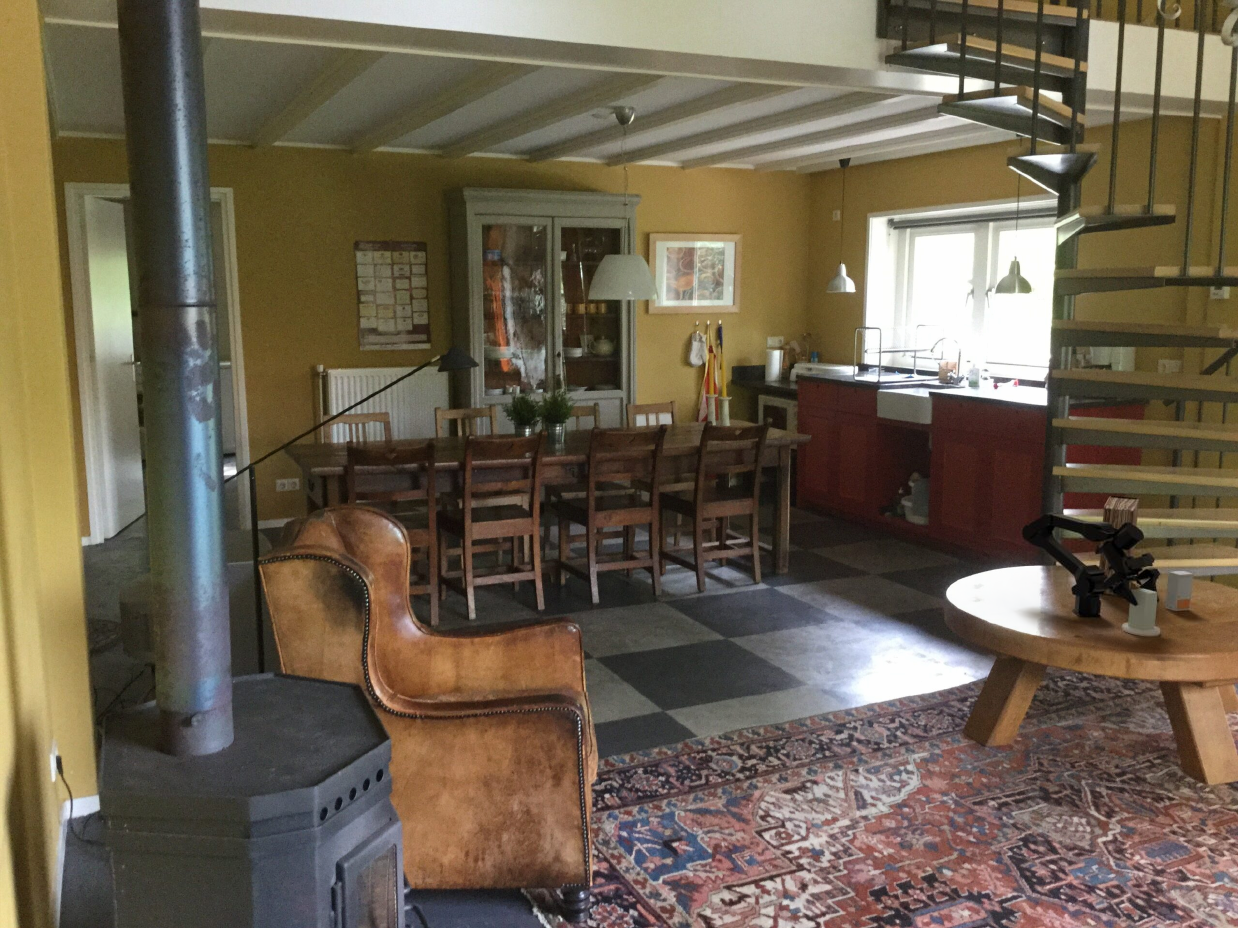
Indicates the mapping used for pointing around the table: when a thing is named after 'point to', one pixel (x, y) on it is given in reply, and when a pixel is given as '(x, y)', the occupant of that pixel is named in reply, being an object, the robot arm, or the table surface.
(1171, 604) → the skincare box
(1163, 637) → the table surface
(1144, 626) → the sage block
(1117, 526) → the brown striped upright block
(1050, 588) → the table surface
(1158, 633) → the coaster
